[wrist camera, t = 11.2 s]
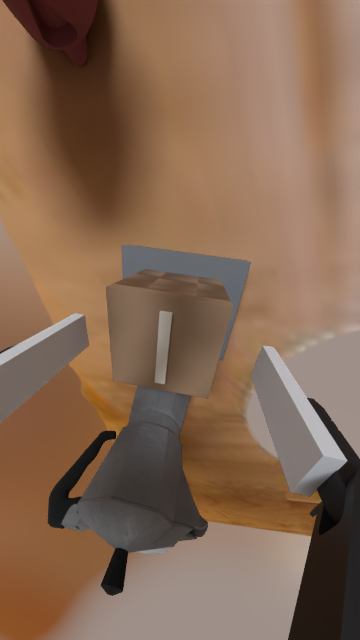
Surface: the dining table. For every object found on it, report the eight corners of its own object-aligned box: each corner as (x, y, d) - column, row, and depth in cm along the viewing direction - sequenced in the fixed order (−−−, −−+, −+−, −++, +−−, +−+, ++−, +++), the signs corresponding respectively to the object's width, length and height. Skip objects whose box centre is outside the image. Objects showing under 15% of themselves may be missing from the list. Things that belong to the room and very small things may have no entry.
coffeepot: (202, 361, 24) (201, 598, 8) (207, 406, 28) (214, 629, 12) (107, 365, 27) (-36, 549, 11) (123, 406, 31) (36, 587, 15)
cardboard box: (143, 333, 21) (111, 383, 14) (145, 268, 18) (103, 288, 10) (206, 344, 21) (208, 401, 13) (220, 279, 17) (234, 308, 10)
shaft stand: (246, 260, 18) (277, 273, 10) (221, 351, 23) (230, 404, 16) (129, 244, 19) (79, 246, 11) (130, 335, 24) (96, 379, 16)
